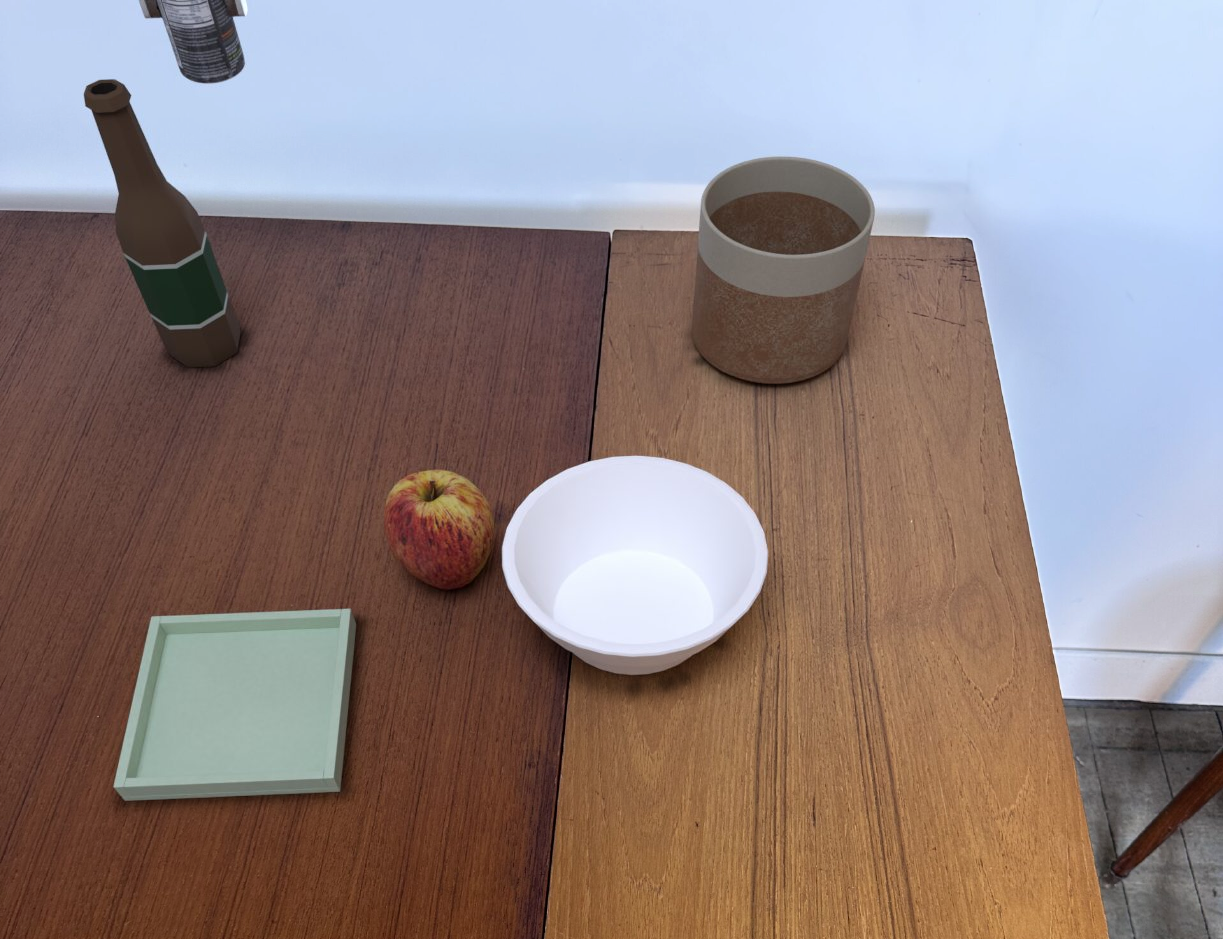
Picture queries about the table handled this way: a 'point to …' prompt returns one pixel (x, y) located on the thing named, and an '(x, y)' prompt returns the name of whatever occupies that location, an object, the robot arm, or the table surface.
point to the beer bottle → (163, 240)
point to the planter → (779, 267)
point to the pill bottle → (203, 39)
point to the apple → (439, 527)
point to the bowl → (634, 561)
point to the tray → (239, 706)
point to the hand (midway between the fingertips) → (196, 14)
